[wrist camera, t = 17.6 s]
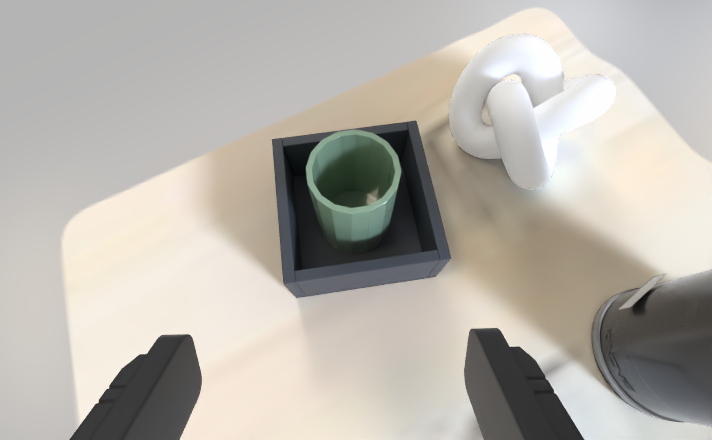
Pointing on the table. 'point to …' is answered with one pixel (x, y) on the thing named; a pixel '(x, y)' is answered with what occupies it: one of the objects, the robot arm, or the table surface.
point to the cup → (353, 189)
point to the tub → (402, 242)
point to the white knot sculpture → (523, 106)
